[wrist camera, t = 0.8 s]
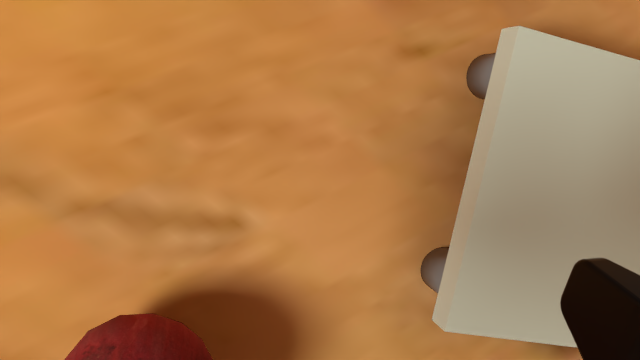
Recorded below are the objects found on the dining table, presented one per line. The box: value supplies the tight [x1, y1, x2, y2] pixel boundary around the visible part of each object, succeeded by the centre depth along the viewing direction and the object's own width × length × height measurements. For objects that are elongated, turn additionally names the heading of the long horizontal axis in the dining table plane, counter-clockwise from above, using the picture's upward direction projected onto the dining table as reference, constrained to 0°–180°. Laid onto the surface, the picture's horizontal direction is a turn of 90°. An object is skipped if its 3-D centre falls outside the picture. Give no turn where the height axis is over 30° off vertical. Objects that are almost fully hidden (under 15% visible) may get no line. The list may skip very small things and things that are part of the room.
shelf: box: [421, 26, 640, 348], centre depth 26 cm, size 12×14×4 cm
